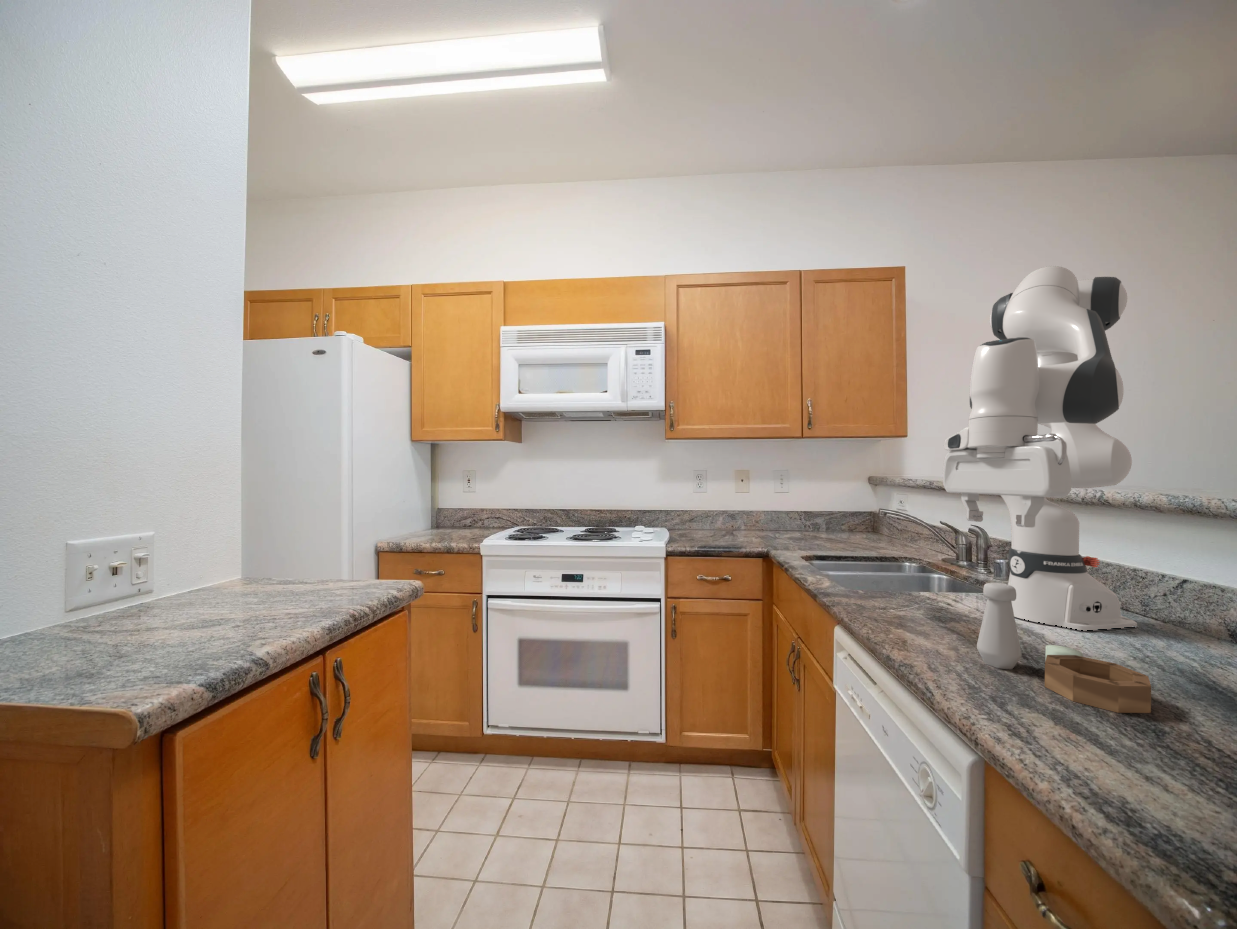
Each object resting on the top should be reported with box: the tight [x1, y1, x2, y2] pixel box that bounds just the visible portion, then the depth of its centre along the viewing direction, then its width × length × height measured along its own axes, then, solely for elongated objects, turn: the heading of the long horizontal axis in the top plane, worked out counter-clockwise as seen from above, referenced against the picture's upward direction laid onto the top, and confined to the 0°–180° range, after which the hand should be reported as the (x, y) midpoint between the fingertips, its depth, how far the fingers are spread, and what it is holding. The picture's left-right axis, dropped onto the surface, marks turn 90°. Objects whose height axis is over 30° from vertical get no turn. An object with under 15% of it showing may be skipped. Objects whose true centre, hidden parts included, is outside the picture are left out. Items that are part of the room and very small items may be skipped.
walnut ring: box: [1044, 655, 1152, 714], centre depth 70 cm, size 10×10×4 cm
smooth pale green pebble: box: [1044, 644, 1084, 661], centre depth 79 cm, size 4×4×3 cm
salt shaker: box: [976, 582, 1023, 670], centre depth 80 cm, size 6×6×13 cm
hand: (998, 524), depth 79 cm, fingers open, 8 cm apart
